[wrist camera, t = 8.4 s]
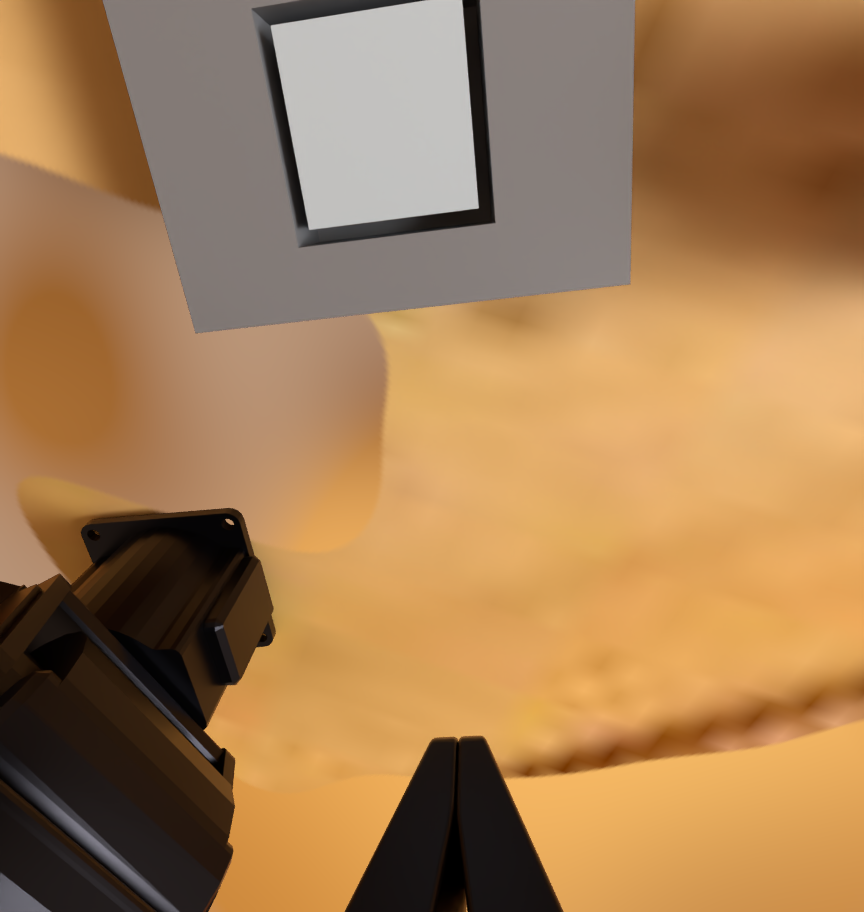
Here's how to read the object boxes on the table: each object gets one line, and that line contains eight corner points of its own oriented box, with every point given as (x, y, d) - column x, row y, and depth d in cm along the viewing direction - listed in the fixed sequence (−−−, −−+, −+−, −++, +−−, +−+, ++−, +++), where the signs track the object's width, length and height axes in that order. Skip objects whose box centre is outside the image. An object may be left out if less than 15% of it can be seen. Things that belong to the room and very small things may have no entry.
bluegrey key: (329, 226, 17) (309, 230, 15) (297, 50, 15) (270, 25, 13) (476, 207, 17) (478, 208, 15) (461, 24, 15) (461, -6, 13)
